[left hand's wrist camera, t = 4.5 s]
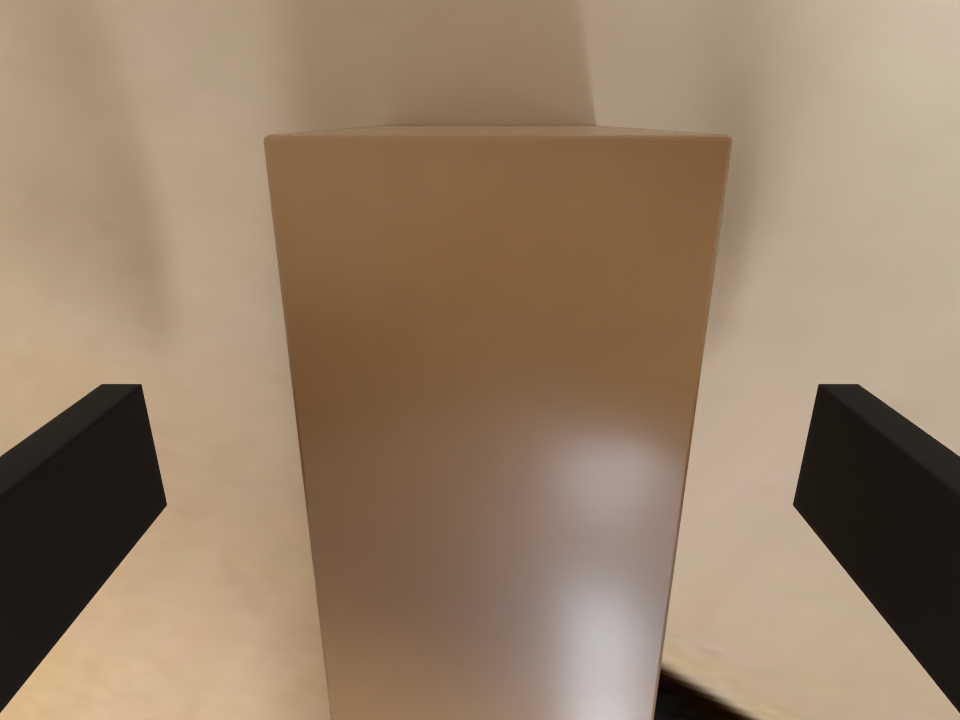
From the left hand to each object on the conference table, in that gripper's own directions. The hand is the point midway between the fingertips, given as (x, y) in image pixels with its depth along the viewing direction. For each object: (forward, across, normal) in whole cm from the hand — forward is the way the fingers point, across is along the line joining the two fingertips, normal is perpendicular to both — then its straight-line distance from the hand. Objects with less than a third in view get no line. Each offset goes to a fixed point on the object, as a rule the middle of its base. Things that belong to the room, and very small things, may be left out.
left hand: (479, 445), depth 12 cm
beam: (+4, 0, -34) cm, 34 cm away
